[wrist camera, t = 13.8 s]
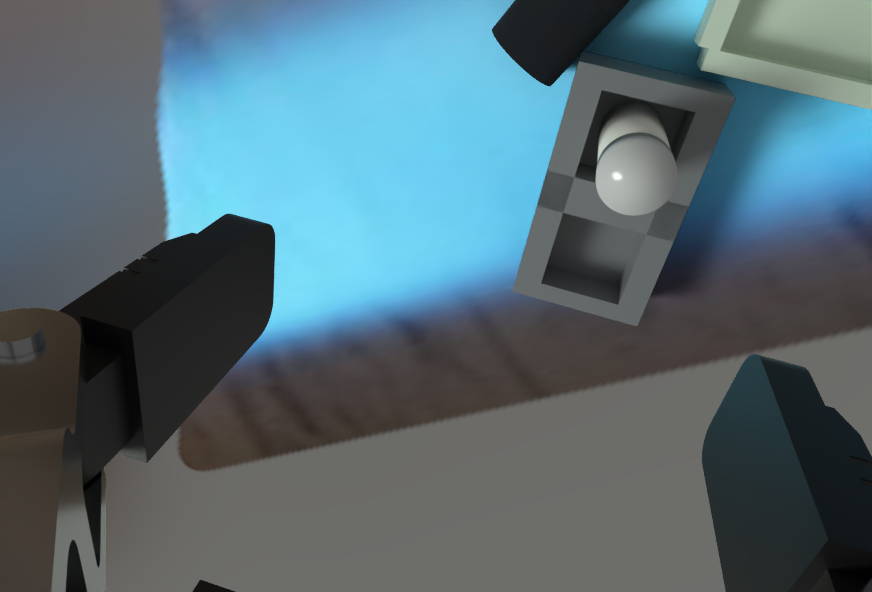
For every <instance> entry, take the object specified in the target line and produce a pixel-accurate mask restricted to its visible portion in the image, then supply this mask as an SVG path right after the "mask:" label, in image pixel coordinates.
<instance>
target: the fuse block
mask: <svg viewBox="0 0 872 592" xmlns="http://www.w3.org/2000/svg"><path fill="white" fill-rule="evenodd" d="M735 99H736V98H735V96H734V95H733V94H732V93H731V91H730V90H729V89H728V88H727V86H726V85H725V84H722V83H718V82H714V81H709V80H705V79H701V78H697V77H692V76H688V75H684V74H679V73H675V72H671V71H667V70H662V69H658V68H654V67H649V66H645V65H641V64H636V63H632V62H628V61H624V60H619V59H615V58H611V57H606V56H602V55H598V54H594V53H589V52H585V51H583V52H582V53H581V55H580V58H579V62H578V65H577V69H576V72H575V75H574V79H573V82H572V86H571V89H570V93H569V96H568V100H567V103H566V107H565V110H564V114H563V117H562V120H561V124H560V127H559V131H558V134H557V138H556V141H555V145H554V148H553V152H552V155H551V159H550V162H549V166H548V169H547V172H546V176H545V179H544V183H543V186H542V190H541V193H540V197H539V200H538V204H537V207H536V211H535V214H534V217H533V221H532V224H531V228H530V231H529V235H528V238H527V242H526V245H525V249H524V252H523V256H522V259H521V263H520V266H519V270H518V273H517V277H516V281H515V284H514V288H513V292H516V293H520V294H523V295H527V296H530V297H534V298H538V299H541V300H545V301H548V302H552V303H555V304H559V305H563V306H566V307H570V308H573V309H577V310H580V311H584V312H587V313H591V314H595V315H598V316H602V317H605V318H609V319H612V320H616V321H620V322H623V323H627V324H630V325H634V326H637V325H638V323H639V321H640V318H641V316H642V314H643V311H644V309H645V307H646V305H647V302H648V300H649V298H650V295H651V293H652V291H653V288H654V286H655V284H656V281H657V279H658V277H659V274H660V272H661V270H662V268H663V265H664V263H665V261H666V258H667V256H668V254H669V251H670V249H671V247H672V244H673V242H674V240H675V237H676V235H677V233H678V231H679V228H680V226H681V224H682V221H683V219H684V217H685V214H686V212H687V210H688V207H689V205H690V203H691V200H692V198H693V196H694V194H695V191H696V189H697V187H698V184H699V182H700V180H701V177H702V175H703V173H704V170H705V168H706V166H707V163H708V161H709V159H710V157H711V154H712V152H713V150H714V147H715V145H716V143H717V140H718V138H719V136H720V133H721V131H722V129H723V126H724V124H725V122H726V120H727V117H728V115H729V113H730V110H731V108H732V106H733V103H734V101H735ZM627 102H641V103H645V104H647V105H649V106H651V107H652V108H654V109H655V110H656V111H657V112H658V114H659V115H660V117H661V119H662V122H663V125H664V129H665V132H666V136H667V139H668V142H669V146H670V149H671V151H672V153H673V156H674V159H675V162H676V166H677V171H678V180H677V185H676V188H675V190H674V192H673V194H672V195H671V197H670V198H669V200H668V201H667V202H666V203H665V204H664V205H662V206H661V207H660V208H658V209H656V210H655V211H653V212H650V213H647V214H644V215H636V216H631V215H624V214H621V213H618V212H616V211H614V210H612V209H610V208H609V207H608V206H607V205H606V204H605V203H604V202H603V201H602V200H601V198H600V196H599V194H598V192H597V188H596V167H597V161H598V141H599V129H600V125H601V123H602V121H603V119H604V117H605V116H606V115H607V114H608V113H609V112H610V111H611V110H612V109H613V108H615V107H616V106H618V105H620V104H623V103H627Z"/></svg>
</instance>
